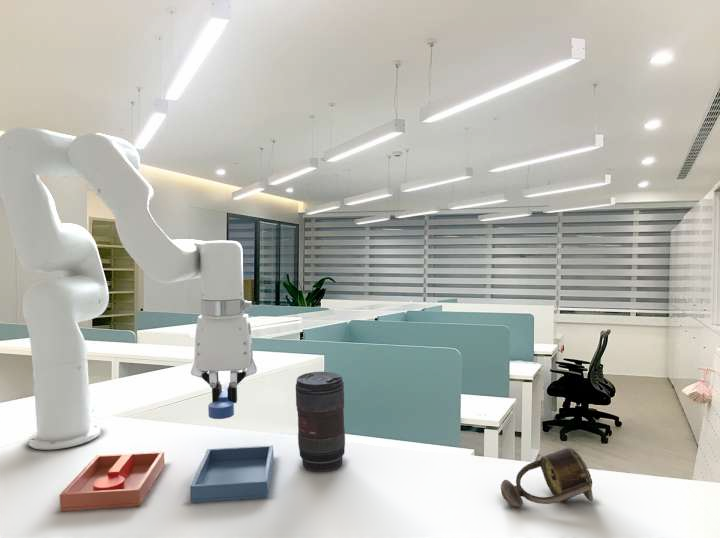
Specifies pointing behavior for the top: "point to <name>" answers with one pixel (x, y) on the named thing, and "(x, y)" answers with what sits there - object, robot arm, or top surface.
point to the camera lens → (320, 420)
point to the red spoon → (115, 475)
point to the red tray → (134, 493)
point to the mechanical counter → (553, 479)
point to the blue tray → (233, 474)
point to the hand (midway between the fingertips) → (225, 406)
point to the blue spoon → (221, 406)
